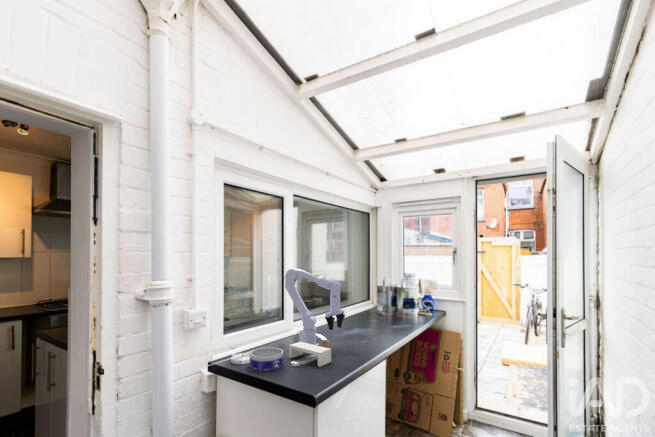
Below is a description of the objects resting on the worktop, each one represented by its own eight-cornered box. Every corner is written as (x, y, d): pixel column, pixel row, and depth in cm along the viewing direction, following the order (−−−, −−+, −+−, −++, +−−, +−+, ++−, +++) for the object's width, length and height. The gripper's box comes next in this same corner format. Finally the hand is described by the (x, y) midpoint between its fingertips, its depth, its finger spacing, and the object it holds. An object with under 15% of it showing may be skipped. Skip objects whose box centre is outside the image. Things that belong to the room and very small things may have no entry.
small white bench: (289, 357, 159) (289, 344, 159) (300, 353, 165) (300, 341, 166) (320, 366, 146) (320, 352, 147) (331, 362, 152) (331, 348, 153)
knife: (305, 330, 213) (316, 329, 215) (305, 332, 213) (316, 331, 215) (314, 340, 184) (327, 339, 186) (314, 343, 184) (328, 342, 186)
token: (288, 365, 148) (288, 362, 148) (295, 363, 151) (295, 359, 152) (295, 368, 145) (295, 364, 145) (302, 365, 149) (302, 362, 149)
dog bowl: (268, 373, 138) (269, 359, 139) (242, 367, 145) (242, 353, 146) (289, 363, 151) (290, 349, 152) (264, 358, 159) (264, 345, 159)
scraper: (295, 362, 152) (295, 348, 152) (323, 352, 168) (323, 339, 168) (303, 365, 148) (303, 350, 149) (331, 354, 165) (331, 340, 165)
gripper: (332, 306, 173) (332, 332, 171) (348, 302, 184) (348, 327, 183) (322, 304, 177) (322, 330, 176) (338, 301, 188) (338, 325, 187)
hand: (335, 328), depth 179 cm, fingers open, 7 cm apart
